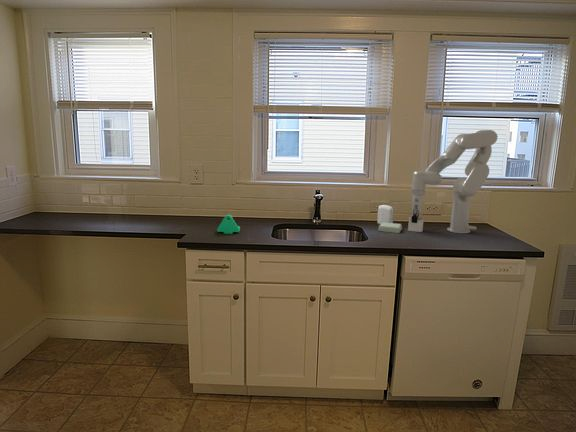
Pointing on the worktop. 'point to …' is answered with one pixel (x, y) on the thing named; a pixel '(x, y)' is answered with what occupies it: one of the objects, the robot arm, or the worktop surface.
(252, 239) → the worktop surface
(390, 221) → the photo printer
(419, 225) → the housing
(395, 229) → the stand
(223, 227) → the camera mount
